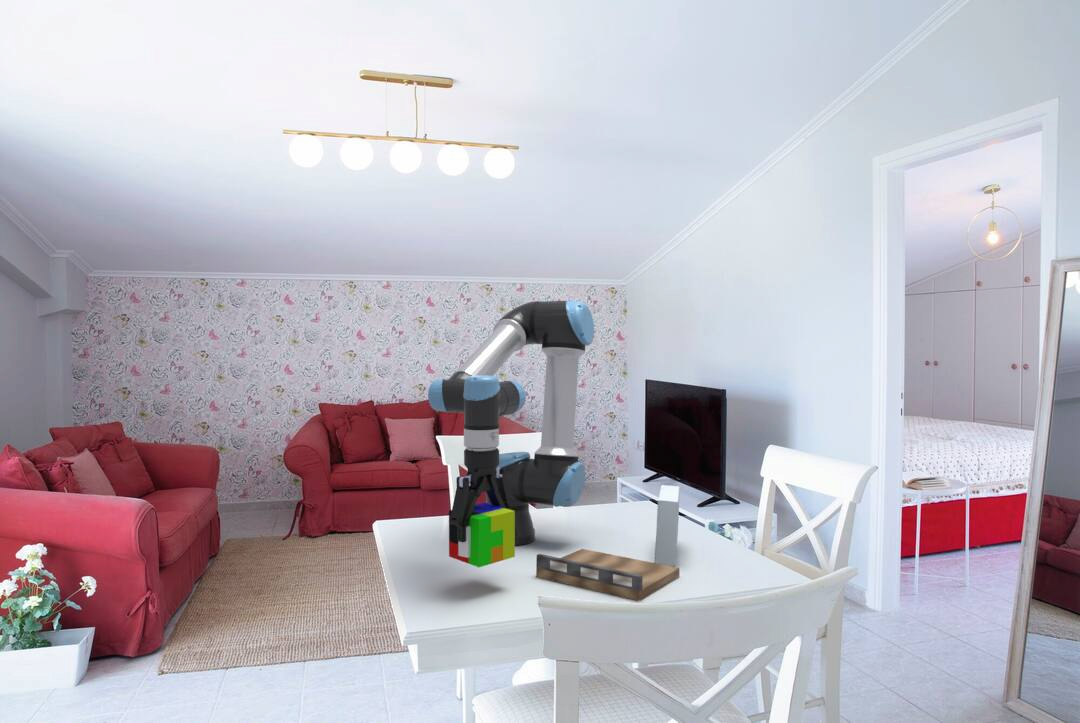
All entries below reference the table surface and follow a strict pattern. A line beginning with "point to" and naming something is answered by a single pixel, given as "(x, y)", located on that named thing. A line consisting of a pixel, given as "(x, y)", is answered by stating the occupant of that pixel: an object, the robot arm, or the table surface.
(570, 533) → the table surface
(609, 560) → the brown piece
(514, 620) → the table surface
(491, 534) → the puzzle toy
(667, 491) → the skincare box
